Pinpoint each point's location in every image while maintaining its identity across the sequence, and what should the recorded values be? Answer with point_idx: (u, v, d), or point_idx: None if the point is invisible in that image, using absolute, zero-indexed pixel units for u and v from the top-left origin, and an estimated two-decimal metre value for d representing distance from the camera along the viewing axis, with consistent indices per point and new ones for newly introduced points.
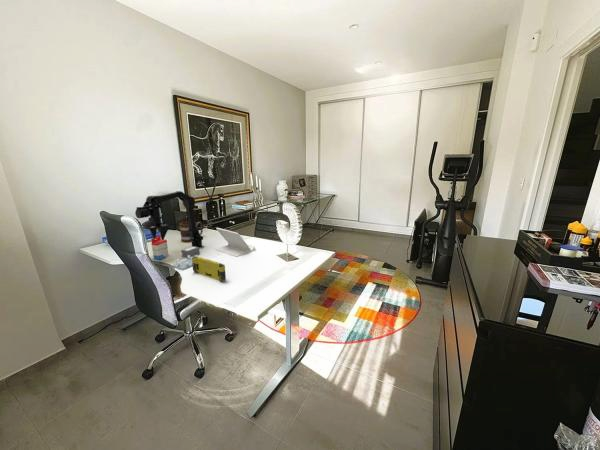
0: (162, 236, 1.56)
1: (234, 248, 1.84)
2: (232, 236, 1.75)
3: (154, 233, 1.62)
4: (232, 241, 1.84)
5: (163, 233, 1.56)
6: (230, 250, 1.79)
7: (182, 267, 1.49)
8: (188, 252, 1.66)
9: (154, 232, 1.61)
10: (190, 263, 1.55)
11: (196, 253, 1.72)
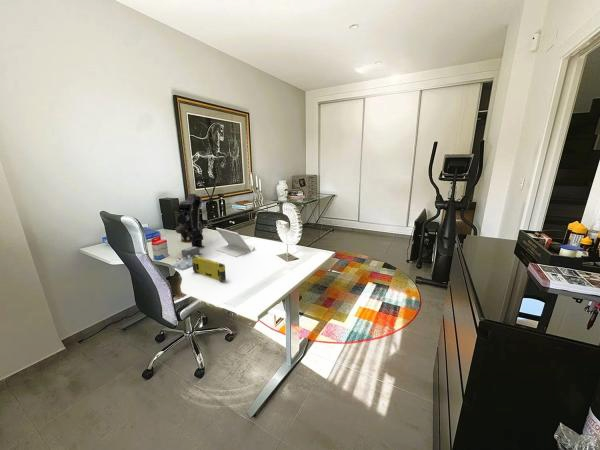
0: (194, 240, 1.66)
1: (234, 248, 1.84)
2: (232, 236, 1.75)
3: (185, 237, 1.71)
4: (232, 241, 1.84)
5: (195, 237, 1.66)
6: (230, 250, 1.79)
7: (182, 267, 1.49)
8: (188, 252, 1.66)
9: (185, 236, 1.71)
10: (190, 263, 1.55)
11: (196, 253, 1.72)
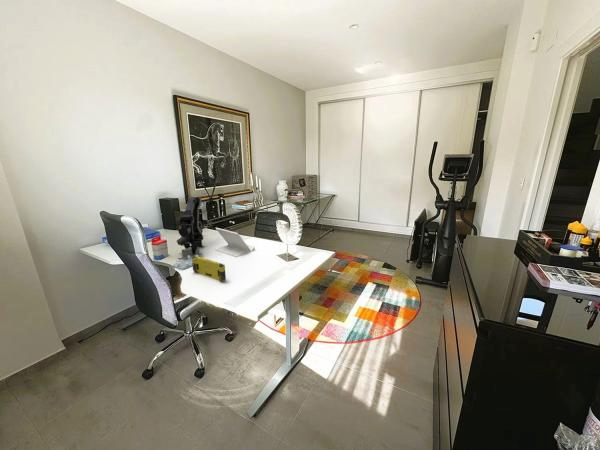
0: (193, 251, 1.68)
1: (234, 248, 1.83)
2: (232, 236, 1.75)
3: None
4: (231, 241, 1.84)
5: (194, 248, 1.68)
6: (230, 250, 1.79)
7: (182, 267, 1.49)
8: (188, 252, 1.66)
9: None
10: (190, 263, 1.55)
11: (196, 253, 1.72)
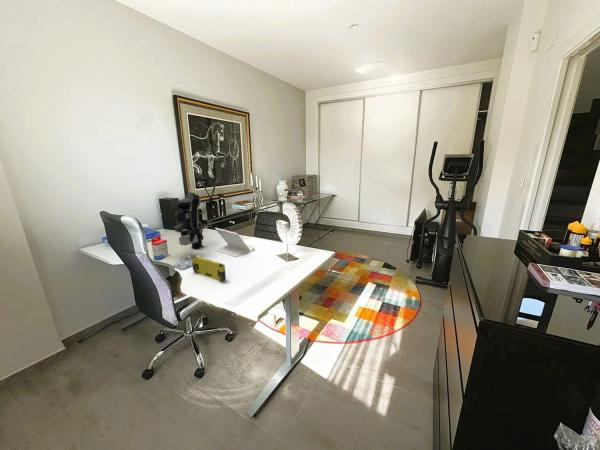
0: (191, 238, 1.63)
1: (233, 248, 1.83)
2: (231, 236, 1.74)
3: None
4: (231, 242, 1.83)
5: (192, 235, 1.63)
6: (229, 250, 1.79)
7: (182, 267, 1.49)
8: (185, 239, 1.60)
9: (185, 235, 1.66)
10: (190, 263, 1.55)
11: (194, 241, 1.66)
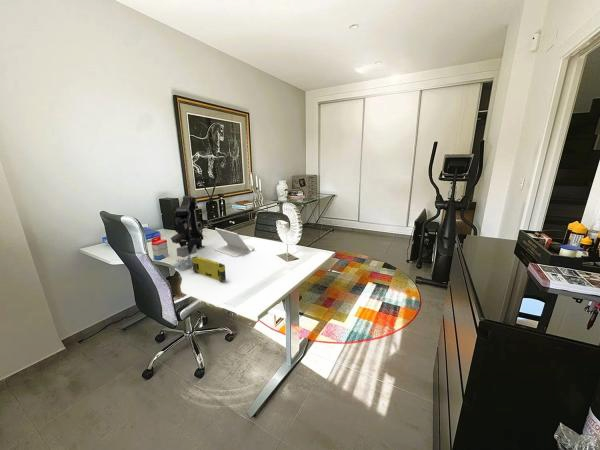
0: (190, 249, 1.52)
1: (233, 248, 1.83)
2: (231, 236, 1.74)
3: None
4: (231, 242, 1.83)
5: (191, 246, 1.52)
6: (229, 250, 1.79)
7: (182, 267, 1.49)
8: (184, 250, 1.49)
9: None
10: (190, 263, 1.55)
11: (193, 251, 1.55)
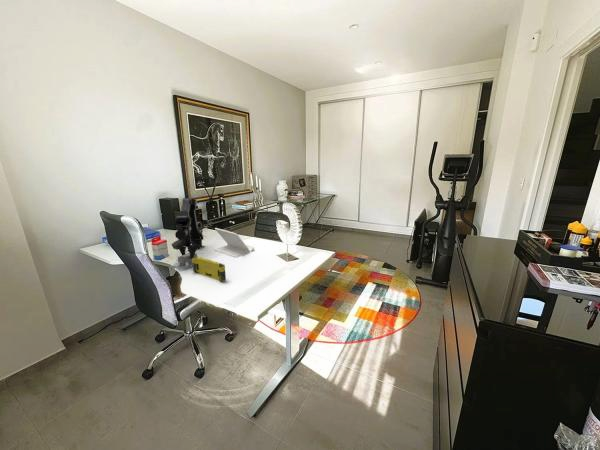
0: (191, 256, 1.52)
1: (233, 248, 1.83)
2: (231, 236, 1.74)
3: (183, 252, 1.57)
4: (231, 242, 1.83)
5: (192, 252, 1.52)
6: (229, 250, 1.78)
7: (182, 267, 1.49)
8: (185, 259, 1.51)
9: (183, 251, 1.57)
10: None
11: None
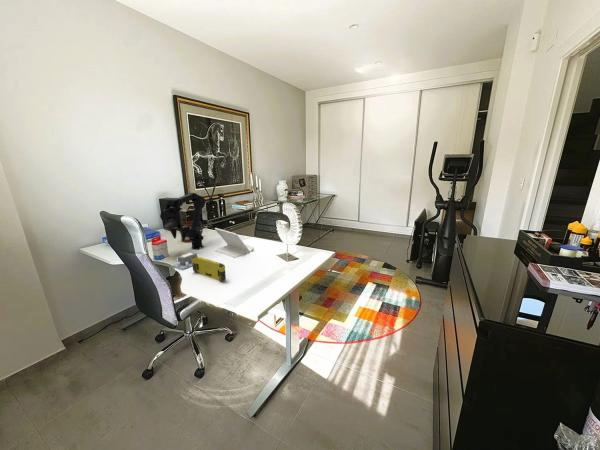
0: (183, 237, 1.65)
1: (233, 249, 1.82)
2: (230, 237, 1.74)
3: (175, 234, 1.70)
4: (230, 242, 1.83)
5: (184, 234, 1.65)
6: (228, 251, 1.78)
7: (182, 267, 1.49)
8: (185, 259, 1.51)
9: (174, 233, 1.70)
10: None
11: None
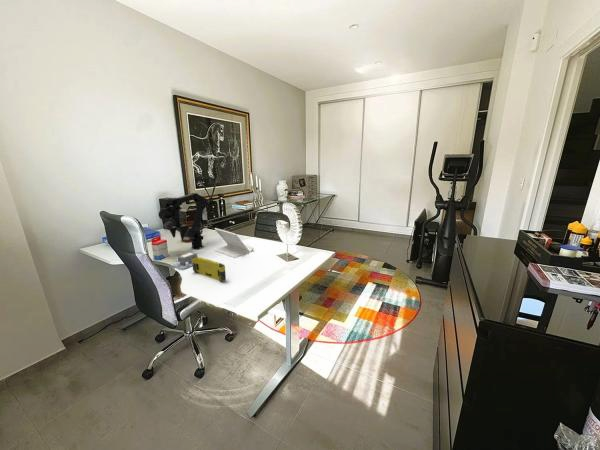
0: (182, 236, 1.66)
1: (232, 249, 1.82)
2: (230, 237, 1.73)
3: (174, 233, 1.72)
4: (230, 242, 1.82)
5: (183, 233, 1.66)
6: (228, 251, 1.78)
7: (182, 267, 1.49)
8: (185, 259, 1.51)
9: (173, 232, 1.72)
10: None
11: None
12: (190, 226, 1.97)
